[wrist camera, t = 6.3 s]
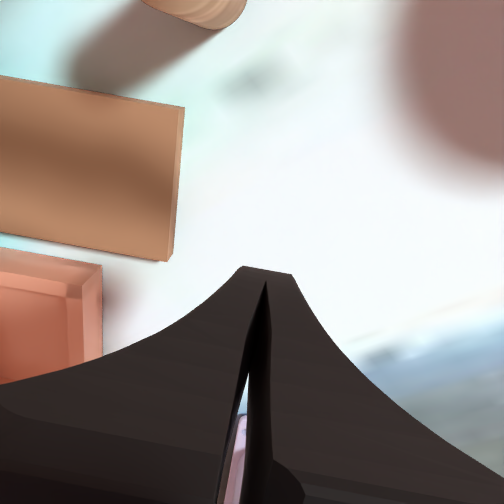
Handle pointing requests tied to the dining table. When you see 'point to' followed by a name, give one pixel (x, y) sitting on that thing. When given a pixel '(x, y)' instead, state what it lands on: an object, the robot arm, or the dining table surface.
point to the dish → (47, 314)
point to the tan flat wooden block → (89, 168)
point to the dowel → (202, 11)
